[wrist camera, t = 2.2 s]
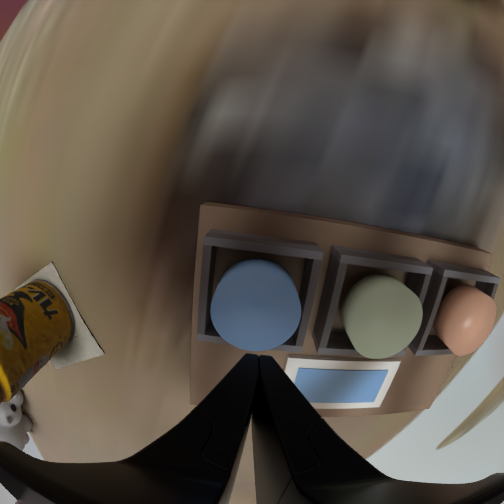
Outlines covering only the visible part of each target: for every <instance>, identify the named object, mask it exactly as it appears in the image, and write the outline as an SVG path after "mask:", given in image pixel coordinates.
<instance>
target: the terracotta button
mask: <svg viewBox="0 0 504 504" xmlns="http://www.w3.org/2000/svg"><path fill="white" fill-rule="evenodd" d="M495 318H496V305H495V302H494V300H493V299H492V298H491V297H490V296H488V295H486V294H485V293H483V292H482V291H480V290H479V289H477V288H475V287H474V286H472V285H470V284H462V285H459V286H457V287H455V288H454V289H452V290H451V291H450V292H449V293H448V294H447V295H446V296H445V297H444V299H443V300H442V302H441V303H440V305H439V307H438V310H437V313H436V316H435V320H434V329H435V333H436V335H437V336H438V337H439V338H440V339H441V340H442V341H443V342H444V343H445V345H446V346H447V347H448V348H449V349H450V350H451V351H452V352H453V353H454V354H456V355H458V356H464V355H468V354H470V353H472V352H473V351H475V350H476V349H477V348H479V347H480V346H481V345H482V344H483V342H484V341H485V340H486V338H487V337H488V335H489V334H490V332H491V330H492V328H493V325H494V322H495Z"/></svg>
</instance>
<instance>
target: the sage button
mask: <svg viewBox="0 0 504 504" xmlns="http://www.w3.org/2000/svg"><path fill="white" fill-rule="evenodd" d="M422 316H423V310H422V305H421V302H420V300H419V298H418V297H417V295H416V294H415V293H413V292H412V291H411V290H410V289H409V288H407V287H406V286H405V285H404V284H403V283H401V282H400V281H399V280H398V279H396V278H395V277H393V276H391V275H388V274H381V273H380V274H373V275H370V276H367V277H365V278H363V279H361V280H360V281H358V282H357V283H356V284H355V285H354V286H353V287H352V288H351V289H350V290H349V291H348V293H347V294H346V296H345V298H344V300H343V303H342V306H341V321H342V324H343V327H344V329H345V330H346V332H347V334H348V336H349V338H350V340H351V342H352V344H353V346H354V348H355V349H356V350H357V352H358V353H360V354H361V355H363V356H364V357H367V358H371V359H383V358H387V357H390V356H393V355H395V354H397V353H399V352H400V351H402V350H403V349H404V348H405V347H407V346H408V345H409V344H410V342H411V341H412V340H413V339H414V337H415V336H416V334H417V332H418V330H419V328H420V326H421V322H422Z"/></svg>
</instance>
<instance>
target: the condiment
mask: <svg viewBox="0 0 504 504" xmlns="http://www.w3.org/2000/svg"><path fill="white" fill-rule="evenodd" d="M75 334H76V336H75ZM76 338H77V340H76ZM101 355H104V353H103V351H102V350H101V349H100V347H99V346H98V344H97V342H96V340H95V339H94V338H93V337H92V335H91V334H90V332H89V330H88V328H87V326H86V325H85V324H84V322H83V320H82V318H81V317H80V314H79V313H78V310H77V309H76V307H75V305H74V303H73V301H72V299H71V298H70V296H69V294H68V292H67V290H66V288H65V286H64V284H63V282H62V280H61V279H60V277H59V274H58V273H57V270H56V269H55V267H54V265H53V264H52V262H51V263H49V264H48V265H46V266H45V267H44V268H42V269H41V270H40V271H38V272H37V273H36V274H34V275H33V276H32V277H30V278H29V279H28V280H26V281H25V282H24V283H22V284H21V285H20V286H18V287H17V288H16V289H15V290H13V291H12V292H11V293H10V294H8V295H7V296H4V297H3V298H1V299H0V404H1V402H8V401H10V400H11V399H12V398H13V397H14V396H15V395H16V394H17V393H18V392H19V391H20V390H21V389H22V388H23V387H24V386H25V385H26V383H27V382H28V381H29V380H30V379H31V378H32V377H33V376H34V375H35V374H36V373H37V372H38V371H39V370H40V369H41V368H42V367H43V366H44V365H46V364H47V362H48V361H49V360H50V361H51V363H52V364H53V365H54V367H55V368H56V369H60V368H63V367H66V366H69V365H72V364H75V363H78V362H81V361H83V360H88V359H91V358H94V357H98V356H101Z"/></svg>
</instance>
